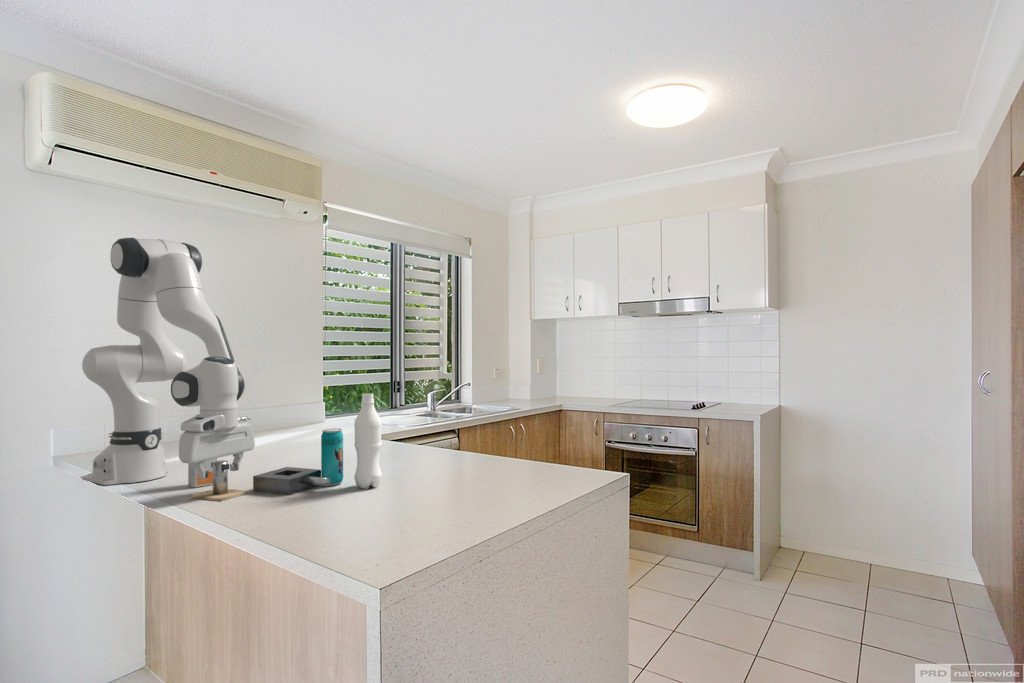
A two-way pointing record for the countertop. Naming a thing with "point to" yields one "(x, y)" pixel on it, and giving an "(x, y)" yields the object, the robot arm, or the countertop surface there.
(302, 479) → the grey handled square frame
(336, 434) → the beverage can
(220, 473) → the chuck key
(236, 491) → the pad
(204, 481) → the skincare box
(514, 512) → the countertop surface
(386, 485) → the countertop surface
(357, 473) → the water bottle
